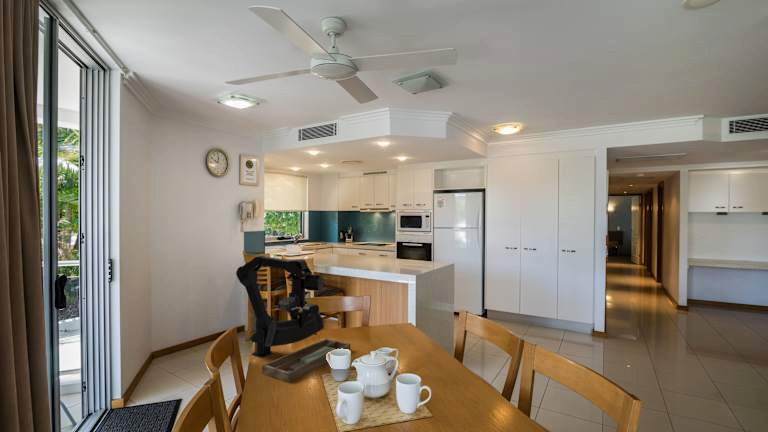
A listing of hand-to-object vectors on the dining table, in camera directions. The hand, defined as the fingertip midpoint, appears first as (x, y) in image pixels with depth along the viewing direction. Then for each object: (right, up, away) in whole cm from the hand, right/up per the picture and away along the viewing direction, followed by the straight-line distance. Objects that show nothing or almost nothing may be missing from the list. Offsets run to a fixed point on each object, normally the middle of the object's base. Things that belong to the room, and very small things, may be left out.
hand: (297, 326), depth 151 cm
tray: (+5, -13, -3) cm, 14 cm away
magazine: (0, -6, -1) cm, 6 cm away
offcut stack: (+8, -14, -5) cm, 17 cm away
